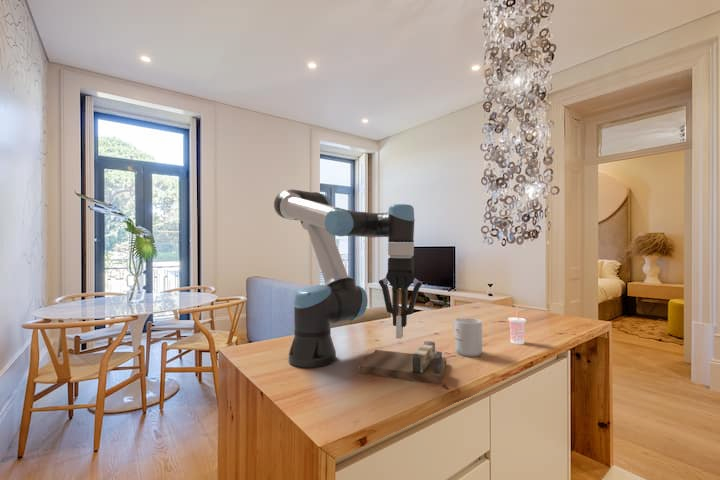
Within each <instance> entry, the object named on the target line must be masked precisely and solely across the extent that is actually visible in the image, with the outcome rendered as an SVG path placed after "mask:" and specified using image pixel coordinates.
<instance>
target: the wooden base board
mask: <svg viewBox="0 0 720 480" xmlns="http://www.w3.org/2000/svg"><path fill="white" fill-rule="evenodd" d="M413 354H414V353H409V352H401V351H391V350H381V349H375V350H374V351H373V352H372V353H370V354H369V356H368V357H367V358H365V359H364V361H362V362H360V364H359V366H358V369H359V371H358V372H359V373H360V374H361V373H362V374H367V375H373V376H375V375H376V376H383V377H387V378H388V377H389V378H390V377H391V378H394V379H395V378H398V379H404V380H410V381H418V382H425V383H430V384H431V383H432V384H433V383H434V384H441V383H442V380H443V376H444V374H445V371H446V367H447V365H448V364H447V357H444V356H443V353H442V351H436V350H435V356H434V358H433V359H432V361H431V362H430V363H429V365H428V366H427V367H426V368H425V370H424V371H423V372H422V373H416V372H413V371H411V356H412V355H413Z"/></svg>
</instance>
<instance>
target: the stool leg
mask: <svg viewBox="0 0 720 480" xmlns="http://www.w3.org/2000/svg"><path fill="white" fill-rule="evenodd" d="M412 354H413V355H412V356H411V371H413V372H416V373H422V372H423V371H424V370H425V368H426V367H427V366H428V365H429V363H430V362H431V361H432V359H433V358H434V356H435V354H436V343H435V342H434V341H431V340H426V341H425V340H424V341H423V344H422V345H421V346H420V347H419V348H418V349H417V350H416V351H415V352H414V353H412Z"/></svg>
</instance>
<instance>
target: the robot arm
mask: <svg viewBox="0 0 720 480" xmlns="http://www.w3.org/2000/svg"><path fill="white" fill-rule="evenodd" d="M332 204H333V203H332V202H331V199H330V198H329V197H328V196H327V194H324V193H320V192H316V191H315V192H314V191H313V192H310V191H304V190H300V189H299V190H298V189H292V188H291V189H285V190H282V191H280V192H279V193H278V194H277V195H276V197H275V199H274V201H273V208H274V211H275V212H276V214H277V215H278V216H279V217H281V218H283V219H285V220H290V221H291V220H292V221H299V222H300V224H301V227H302V228H303V229H304V230H306V231H307V232H308V236H309V238H310V239H309V240H310V241H311V244H312V247H313V250H314V253H315V257H316V259H317V262H318V263H317V264H318V265H319V268H320V271H321V274H322V277H323V280H324V283H325V284H318V285H309V286H305V287H303V288H299V289H298V290H297V291H296V292H295V294H294V302H293V306H294V307H293V308H294V316H293V317H294V318H293V319H294V321H293V322H294V327H293V329H294V330H293V331H294V333H293V334H294V336H293V339H292V341H291V342H292V343H291V346H290V349H289V350H288V351H289V352H288V363H289V364H290V365H292V366H295V367H297V368H298V367H299V368H311V369H312V368H320V367H326V366H329V365H331V364H333V363H334V362H335V361H336V359H337V351H336V349H335V344H334V342H333V338H332V336H331V325H332V324H337V323H342V322H350V321H354V320H357V319H359V318H361V317H362V316H364V315H365V312H366V310H367V307H368V304H369V303H368V294H367V292H366V289H364V288H363V287H361V286H360V285H356V282H355V279H354V278H353V277H352V276H349V275H348V273H347V272H348V271H347V270H346V267H345V263H344V262H343V259H342V256H341V254H340V251H339V248H338V246H337V242H336V239H335V238H334V236H337V237H362V238H363V237H364V238H365V237H366V238H373V239H374V238H388V240H387V242H388V243H387V249H388V250H387V256H389V257H388V259H387V273H386V275H385V277H384V278H382V279H379V280H378V285H380V287H381V292H382V294H383V295H382V296H383V300H384V303H385V310H386V312H387V313H388V314H389V313H390V314H392V326H393V327H395V339H398V340H399V339H400V340H401V339H402V338H403V337H404V328H405V327H407V325H408V324H407V323H408V322H407V321H408V320H407V319H408V316H409V315H412V313H414V309H415V306H416V302H417V298H418V294H419V291H420V289H421V286H423V281H419V279H417V278H416V276H415V273H414V265H415V264H414V261H415V260H414V258H413V257H414V252H415V243H414V242H415V241H414V239H415V237H414V236H415V235H414V234H415V221H416V220H415V219H416V218H415V208H414V206H413V205H411V204H405V203H401V204H400V203H398V204H396V203H395V204H391V205H389V206H388V210H387V212H379V213H377V212H369V211H355V210H349V209H345V208H340V207H336V206H333V205H332ZM388 284H390V286H391V287H392V299H391V294H390V290H389V286H388ZM411 285H412V286H413V290H412V293H411V296H410V297H411V298H410V301H409V304H408V293H409V292H408V291H409V289H408V288H409V287H410V286H411ZM400 291H401V299H400ZM399 299H400V300H401V302H400V301H399ZM399 302H400V303H401V309H400V303H399ZM399 309H400V311H401V313H400V311H399Z"/></svg>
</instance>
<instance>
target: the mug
mask: <svg viewBox="0 0 720 480" xmlns="http://www.w3.org/2000/svg"><path fill="white" fill-rule="evenodd" d="M453 336H454V350H455V351H456V352H457V354H459V355H461V356H463V357H470V358H471V357H475V358H476V357H478V356H480V355H481V354H482V353H483V321H482V320H480V319H479V318H478V319H477V318H471V317H469V318H468V317H460V318H455V320H454V321H453Z"/></svg>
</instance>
